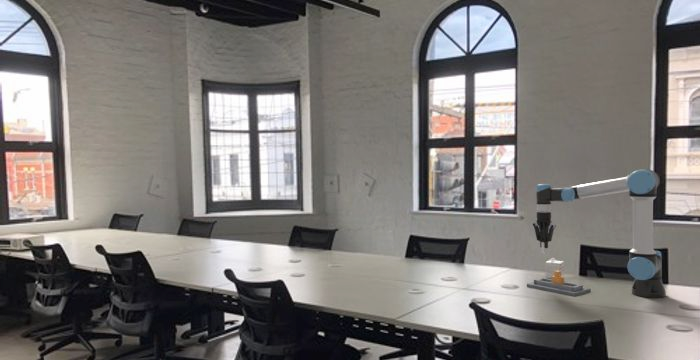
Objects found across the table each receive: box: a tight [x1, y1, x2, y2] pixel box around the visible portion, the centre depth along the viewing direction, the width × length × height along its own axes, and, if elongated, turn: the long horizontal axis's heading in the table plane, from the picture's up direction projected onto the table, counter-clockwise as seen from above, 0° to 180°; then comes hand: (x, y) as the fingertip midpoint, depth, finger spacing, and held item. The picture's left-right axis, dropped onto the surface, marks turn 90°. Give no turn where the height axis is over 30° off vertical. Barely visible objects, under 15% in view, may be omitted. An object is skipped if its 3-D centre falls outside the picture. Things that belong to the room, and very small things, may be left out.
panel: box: [526, 277, 592, 297], centre depth 270 cm, size 28×16×4 cm, turn 36°
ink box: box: [544, 257, 565, 279], centre depth 288 cm, size 9×8×13 cm
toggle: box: [552, 270, 565, 285], centre depth 270 cm, size 5×4×8 cm
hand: (544, 253), depth 277 cm, fingers closed
